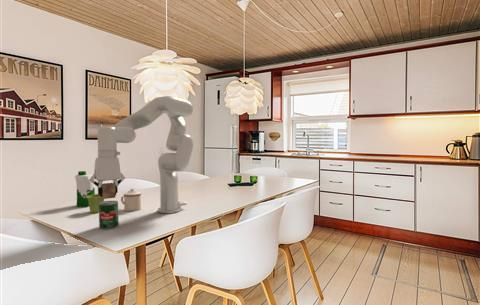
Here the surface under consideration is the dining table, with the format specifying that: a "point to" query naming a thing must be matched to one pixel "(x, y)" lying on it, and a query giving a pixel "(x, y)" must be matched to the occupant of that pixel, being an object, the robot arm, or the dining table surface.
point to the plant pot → (94, 202)
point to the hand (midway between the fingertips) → (107, 195)
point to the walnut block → (108, 190)
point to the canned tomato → (108, 215)
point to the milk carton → (84, 188)
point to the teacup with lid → (132, 200)
